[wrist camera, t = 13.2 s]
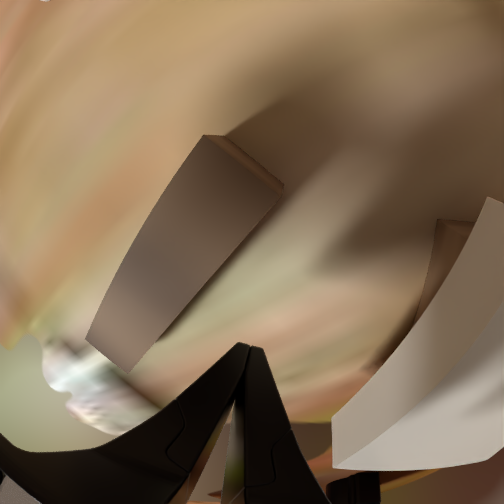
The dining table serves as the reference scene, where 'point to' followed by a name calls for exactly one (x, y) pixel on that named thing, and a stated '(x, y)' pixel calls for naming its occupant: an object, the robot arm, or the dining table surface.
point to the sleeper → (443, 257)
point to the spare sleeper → (181, 246)
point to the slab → (438, 373)
